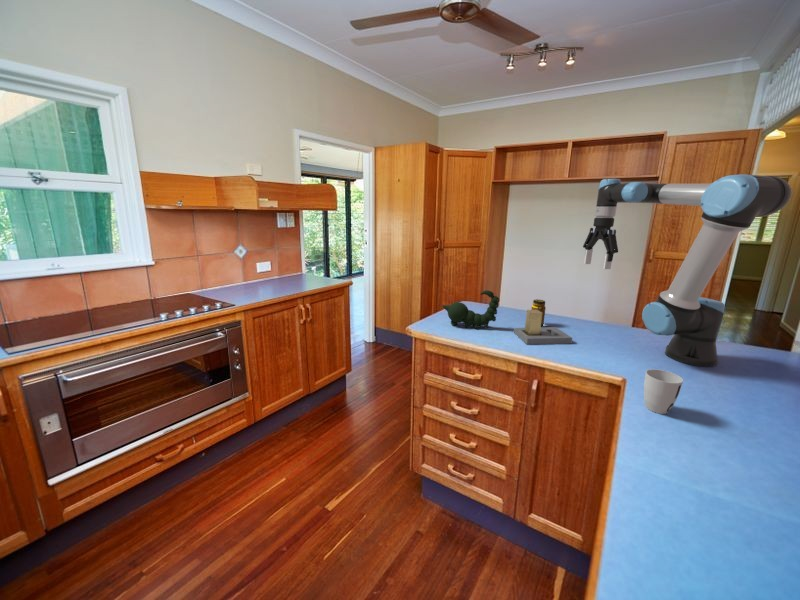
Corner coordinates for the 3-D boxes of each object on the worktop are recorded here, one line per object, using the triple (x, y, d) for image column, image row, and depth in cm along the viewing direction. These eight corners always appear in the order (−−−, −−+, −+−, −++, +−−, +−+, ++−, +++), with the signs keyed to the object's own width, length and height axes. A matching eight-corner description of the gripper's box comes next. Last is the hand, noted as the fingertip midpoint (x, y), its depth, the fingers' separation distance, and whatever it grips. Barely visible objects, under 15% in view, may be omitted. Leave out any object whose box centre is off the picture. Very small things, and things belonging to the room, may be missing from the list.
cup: (676, 420, 90) (685, 386, 88) (639, 411, 94) (646, 377, 92) (673, 406, 97) (680, 373, 94) (638, 398, 101) (644, 366, 98)
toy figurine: (493, 329, 162) (440, 319, 168) (500, 290, 157) (446, 281, 163) (493, 335, 154) (437, 325, 159) (501, 294, 148) (443, 285, 154)
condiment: (526, 323, 167) (528, 298, 164) (542, 322, 168) (545, 298, 165) (534, 328, 160) (537, 302, 157) (551, 327, 161) (554, 302, 158)
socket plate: (571, 343, 142) (572, 337, 141) (526, 344, 140) (527, 338, 139) (554, 332, 154) (555, 327, 153) (513, 333, 152) (514, 327, 152)
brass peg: (538, 340, 145) (542, 312, 142) (528, 340, 144) (531, 313, 141) (533, 336, 149) (537, 309, 146) (523, 336, 149) (526, 309, 145)
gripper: (579, 216, 160) (572, 262, 165) (616, 217, 136) (607, 271, 141) (594, 216, 161) (587, 262, 166) (634, 218, 137) (624, 271, 142)
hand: (596, 266), depth 154 cm, fingers open, 13 cm apart
